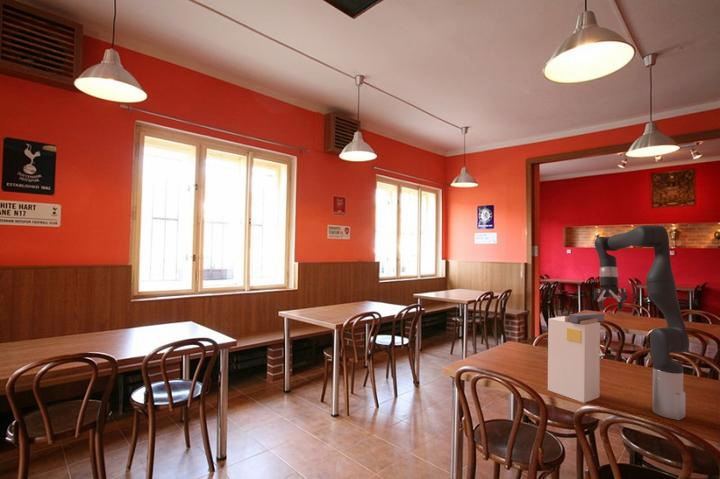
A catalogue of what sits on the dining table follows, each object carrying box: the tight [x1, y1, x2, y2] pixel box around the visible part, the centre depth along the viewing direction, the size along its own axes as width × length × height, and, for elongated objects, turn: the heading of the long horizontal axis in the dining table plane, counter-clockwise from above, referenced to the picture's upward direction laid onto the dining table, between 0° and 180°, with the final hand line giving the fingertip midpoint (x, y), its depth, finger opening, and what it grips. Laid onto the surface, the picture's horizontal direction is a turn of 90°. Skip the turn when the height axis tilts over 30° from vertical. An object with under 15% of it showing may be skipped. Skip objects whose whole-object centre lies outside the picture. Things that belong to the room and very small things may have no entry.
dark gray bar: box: [568, 312, 605, 323], centre depth 166 cm, size 4×22×3 cm, turn 121°
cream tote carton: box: [547, 315, 601, 404], centre depth 167 cm, size 16×12×34 cm
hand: (610, 309), depth 184 cm, fingers open, 8 cm apart
